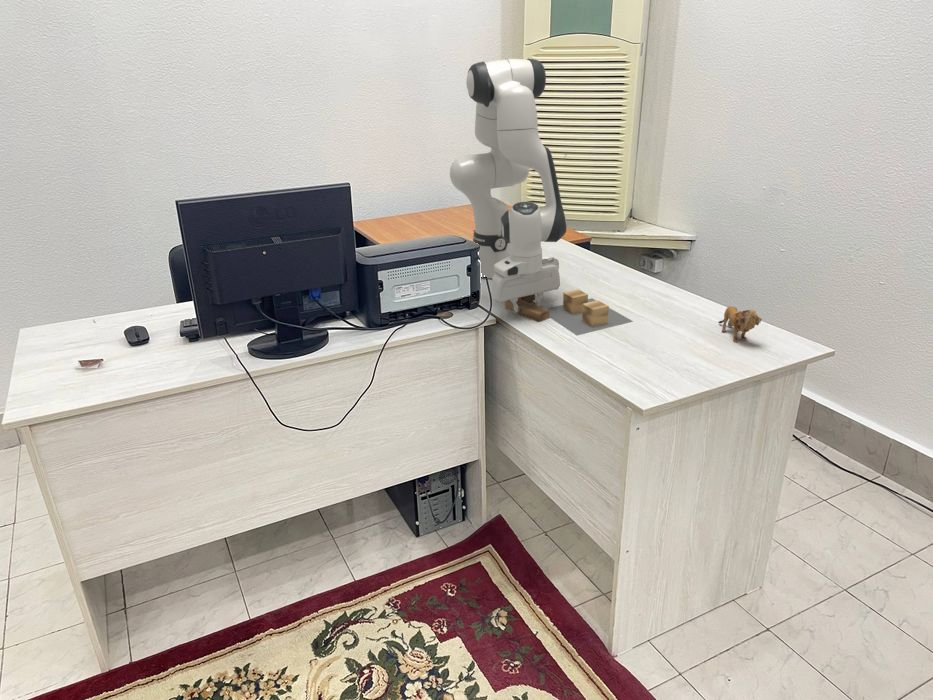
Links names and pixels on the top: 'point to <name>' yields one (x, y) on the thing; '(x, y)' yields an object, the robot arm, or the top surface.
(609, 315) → the mat
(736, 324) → the lion figurine
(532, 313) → the lintel
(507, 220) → the robot arm
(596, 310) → the cube
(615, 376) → the top surface
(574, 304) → the cube
